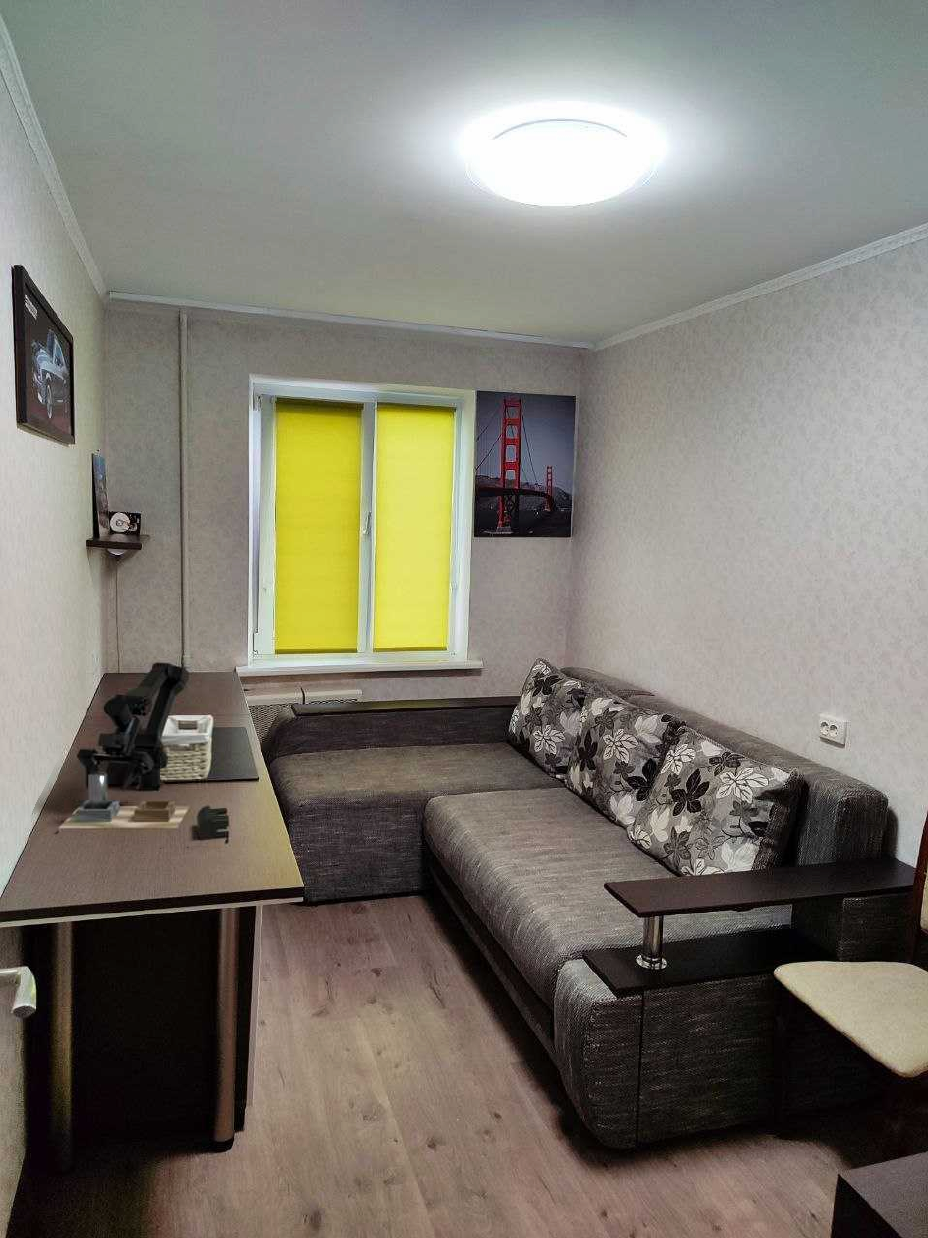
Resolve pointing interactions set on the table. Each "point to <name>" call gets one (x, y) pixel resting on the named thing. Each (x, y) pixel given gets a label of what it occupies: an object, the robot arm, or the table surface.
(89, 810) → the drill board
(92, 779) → the grey long rounded piece
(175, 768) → the storage basket
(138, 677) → the table surface
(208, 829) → the end cap
